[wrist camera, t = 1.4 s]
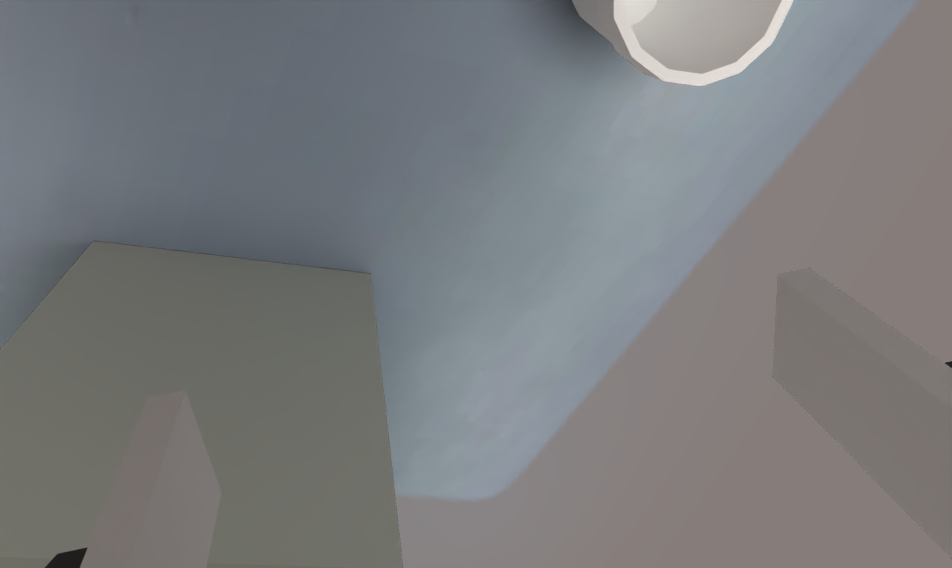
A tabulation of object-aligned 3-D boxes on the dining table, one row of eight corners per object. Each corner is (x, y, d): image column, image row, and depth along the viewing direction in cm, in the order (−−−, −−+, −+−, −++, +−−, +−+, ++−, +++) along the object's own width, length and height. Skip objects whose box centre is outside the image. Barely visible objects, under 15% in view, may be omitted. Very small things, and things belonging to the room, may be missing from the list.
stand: (90, 424, 54) (-155, 891, 27) (93, 240, 49) (-205, 588, 22) (344, 441, 58) (352, 862, 31) (370, 273, 53) (406, 601, 26)
